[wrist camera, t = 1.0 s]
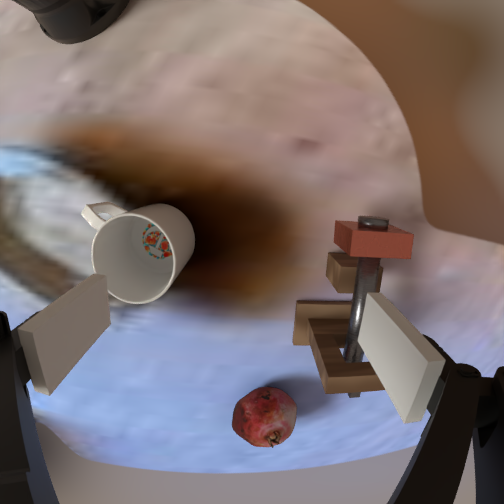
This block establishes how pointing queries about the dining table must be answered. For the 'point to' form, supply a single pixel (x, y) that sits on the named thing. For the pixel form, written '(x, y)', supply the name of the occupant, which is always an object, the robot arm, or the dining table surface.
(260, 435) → the fruit
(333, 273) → the saddle block
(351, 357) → the hook rod
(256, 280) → the dining table surface
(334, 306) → the wooden square frame
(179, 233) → the mug
